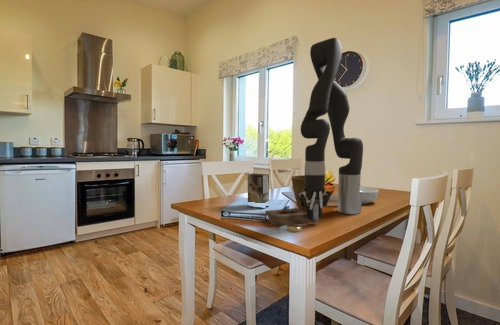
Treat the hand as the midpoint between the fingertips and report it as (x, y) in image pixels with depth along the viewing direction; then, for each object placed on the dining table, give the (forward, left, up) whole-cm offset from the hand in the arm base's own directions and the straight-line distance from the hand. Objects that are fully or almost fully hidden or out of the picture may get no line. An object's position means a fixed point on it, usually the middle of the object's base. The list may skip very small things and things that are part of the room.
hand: (314, 218), depth 104 cm
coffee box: (+8, -35, -3) cm, 36 cm away
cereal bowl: (-47, -26, -3) cm, 53 cm away
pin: (0, 0, -1) cm, 1 cm away
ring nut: (+10, +3, -3) cm, 11 cm away
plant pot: (-9, -18, -3) cm, 20 cm away
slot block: (+7, -8, -3) cm, 11 cm away
